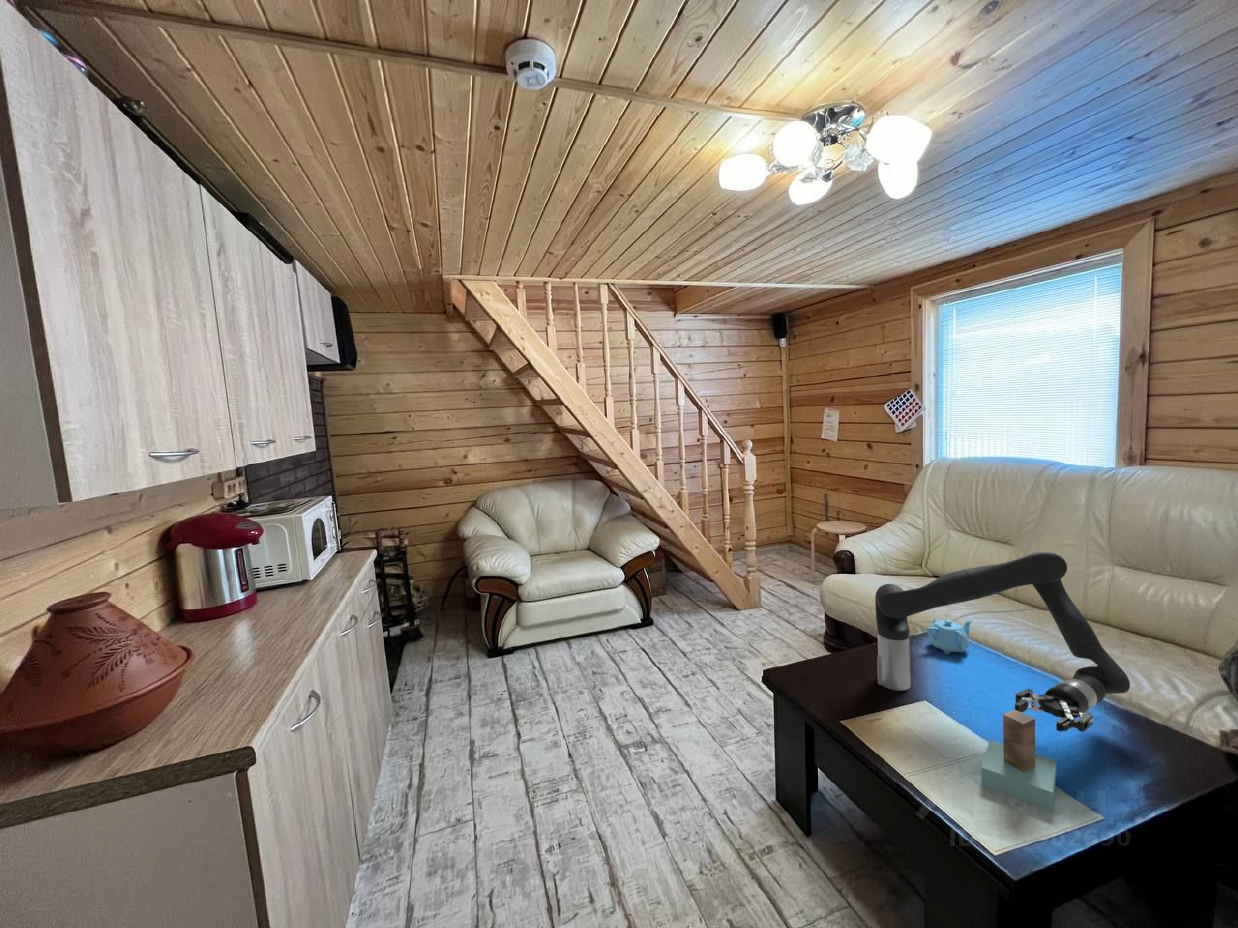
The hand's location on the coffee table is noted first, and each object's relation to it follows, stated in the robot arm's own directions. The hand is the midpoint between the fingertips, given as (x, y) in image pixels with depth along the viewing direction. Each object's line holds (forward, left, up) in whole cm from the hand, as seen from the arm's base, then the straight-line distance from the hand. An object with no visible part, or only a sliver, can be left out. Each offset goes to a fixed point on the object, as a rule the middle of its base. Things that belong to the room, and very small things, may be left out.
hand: (1037, 718), depth 122 cm
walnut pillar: (-4, -7, -9) cm, 12 cm away
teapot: (-19, +62, -14) cm, 66 cm away
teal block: (-4, -7, -14) cm, 16 cm away
